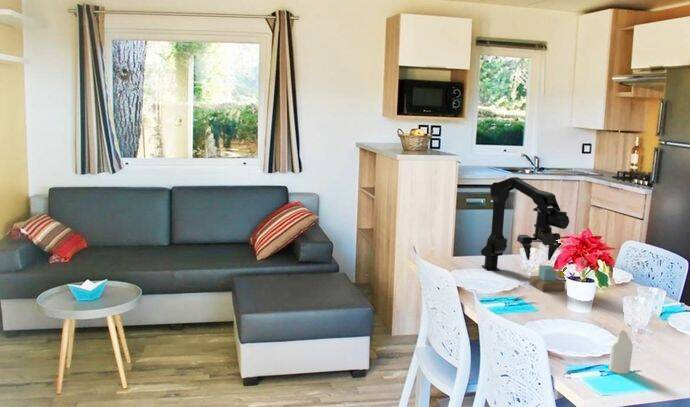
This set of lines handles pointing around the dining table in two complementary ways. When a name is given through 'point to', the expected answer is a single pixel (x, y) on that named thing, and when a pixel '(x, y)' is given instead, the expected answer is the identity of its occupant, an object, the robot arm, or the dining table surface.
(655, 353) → the dining table surface
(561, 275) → the supplement bottle
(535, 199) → the robot arm
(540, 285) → the walnut block
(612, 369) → the beige bottle
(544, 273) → the teal cube
